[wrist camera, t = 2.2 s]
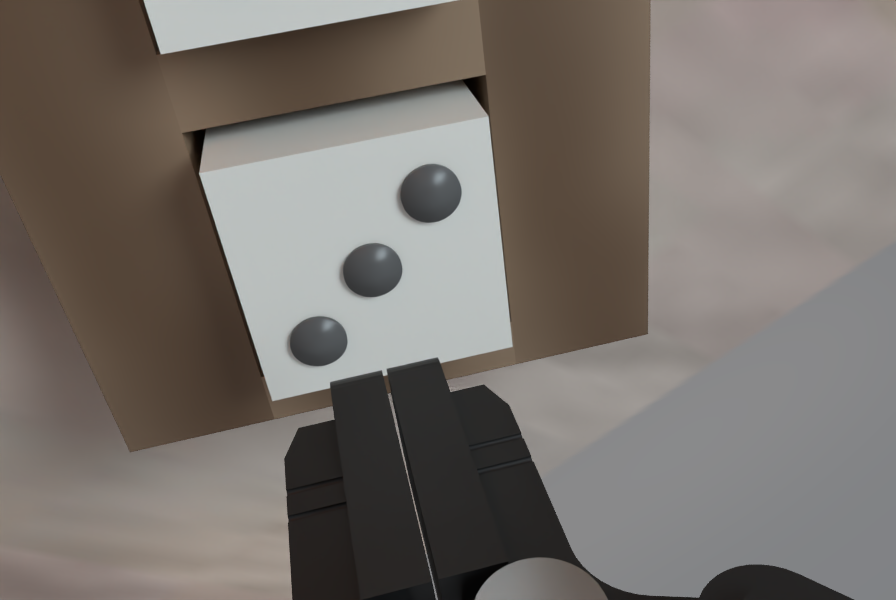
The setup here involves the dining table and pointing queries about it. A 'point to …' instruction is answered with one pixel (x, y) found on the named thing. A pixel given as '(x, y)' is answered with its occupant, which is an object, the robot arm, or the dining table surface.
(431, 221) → the button three
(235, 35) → the button two
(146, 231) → the button panel
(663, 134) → the dining table surface
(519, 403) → the dining table surface
